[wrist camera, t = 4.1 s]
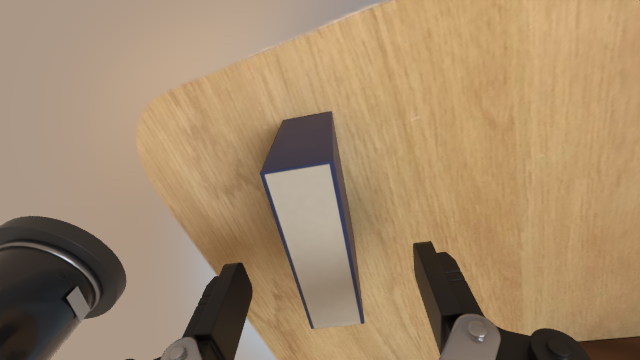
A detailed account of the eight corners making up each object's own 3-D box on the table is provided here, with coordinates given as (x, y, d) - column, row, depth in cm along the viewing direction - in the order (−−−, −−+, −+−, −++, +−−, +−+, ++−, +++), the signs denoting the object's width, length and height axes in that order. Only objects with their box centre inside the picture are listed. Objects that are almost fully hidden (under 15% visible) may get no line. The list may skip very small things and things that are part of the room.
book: (315, 244, 22) (311, 330, 16) (283, 120, 18) (258, 173, 11) (354, 239, 22) (364, 325, 16) (331, 111, 17) (334, 161, 11)
